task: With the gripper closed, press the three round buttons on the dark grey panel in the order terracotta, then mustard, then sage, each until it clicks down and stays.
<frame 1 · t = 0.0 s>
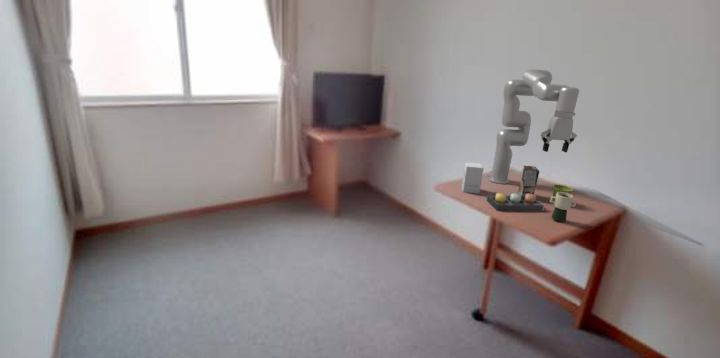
hand: (554, 151, 175), 31 cm above the table, fingers open, 9 cm apart
supplement box: (470, 190, 209), on the table
sage button: (515, 198, 189), point 4 cm above the table, slide at 0.0 cm
panel: (513, 205, 191), on the table
mustard button: (500, 198, 188), point 4 cm above the table, slide at 0.0 cm
character mug: (558, 220, 178), on the table
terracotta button: (530, 198, 190), point 4 cm above the table, slide at 0.0 cm
plant pot: (558, 203, 199), on the table
coffee box: (525, 196, 206), on the table
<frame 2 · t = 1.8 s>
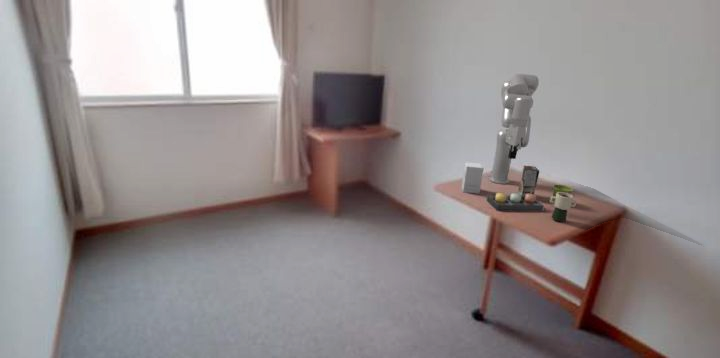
hand: (511, 158, 190), 23 cm above the table, fingers closed
nothing on the table moved.
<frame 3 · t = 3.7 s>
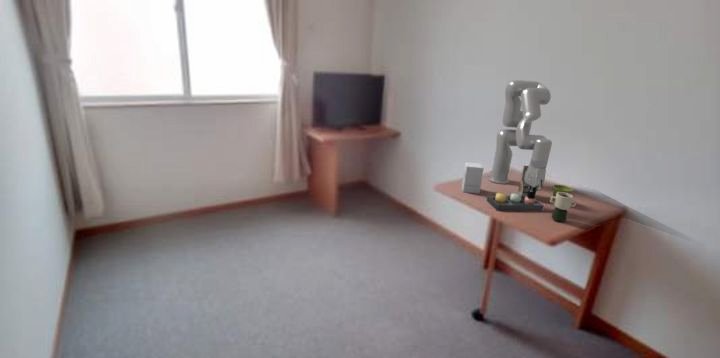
hand: (530, 197, 190), 5 cm above the table, fingers closed
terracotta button: (529, 201, 191), point 3 cm above the table, slide at 1.5 cm
everything else where it was.
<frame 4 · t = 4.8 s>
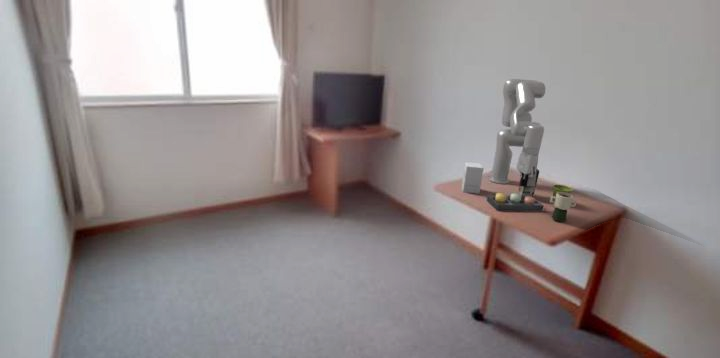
hand: (522, 185, 187), 11 cm above the table, fingers closed
nothing on the table moved.
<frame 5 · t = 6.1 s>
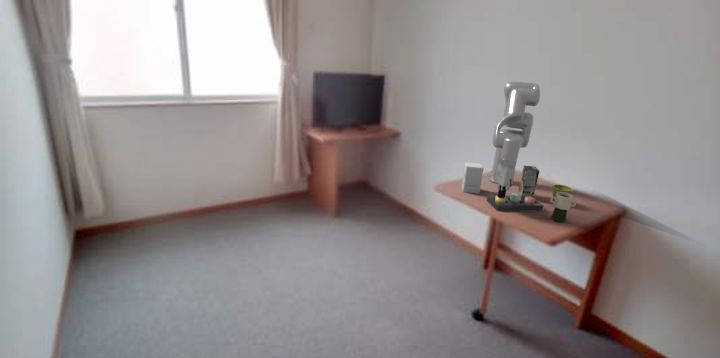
hand: (500, 197, 188), 5 cm above the table, fingers closed
mustard button: (500, 200, 189), point 3 cm above the table, slide at 1.4 cm
everything else where it was.
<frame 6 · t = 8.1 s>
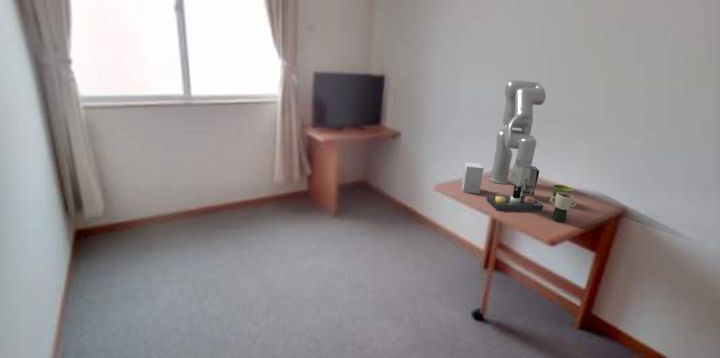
hand: (515, 197, 189), 5 cm above the table, fingers closed
sage button: (515, 200, 190), point 3 cm above the table, slide at 1.3 cm
everything else where it was.
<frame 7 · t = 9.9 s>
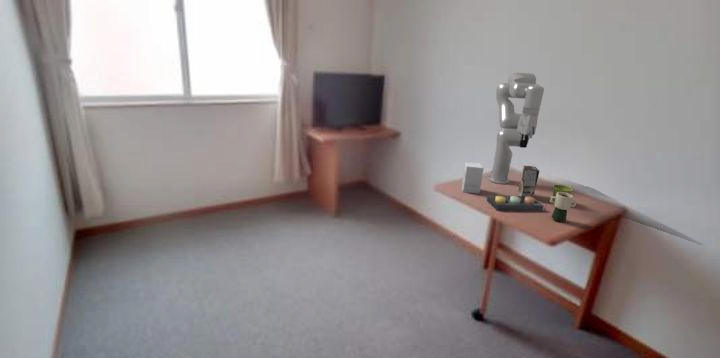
hand: (522, 147, 191), 29 cm above the table, fingers closed
sage button: (514, 201, 190), point 2 cm above the table, slide at 1.6 cm
everything else where it was.
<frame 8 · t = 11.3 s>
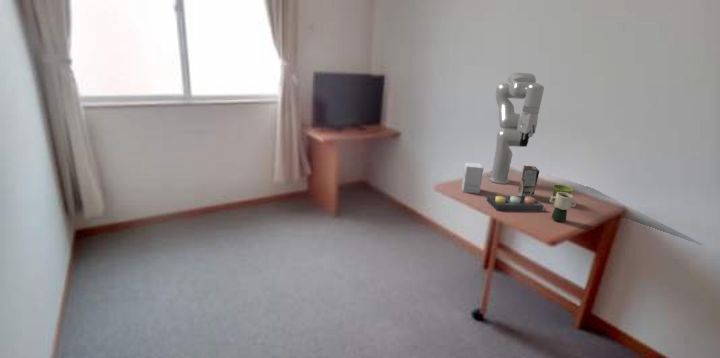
hand: (523, 145, 191), 29 cm above the table, fingers closed
nothing on the table moved.
at the end: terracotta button slide at 1.6 cm; mustard button slide at 1.6 cm; sage button slide at 1.6 cm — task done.
